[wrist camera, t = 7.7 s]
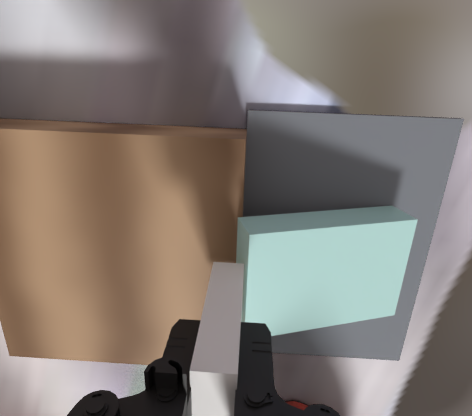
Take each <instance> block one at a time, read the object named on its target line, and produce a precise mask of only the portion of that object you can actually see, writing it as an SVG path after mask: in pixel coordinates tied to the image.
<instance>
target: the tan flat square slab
mask: <svg viewBox="0 0 472 416" xmlns="http://www.w3.org/2000/svg"><path fill="white" fill-rule="evenodd" d="M246 138H247V129H237V128H213V127H189V126H166V125H142V124H119V123H95V122H71V121H48V120H24V119H1V118H0V321H1V325H2V329H3V333H4V336H5V340H6V344H7V348H8V351H9V355H10V356H19V357H34V358H49V359H65V360H80V361H95V362H111V363H126V364H141V365H149V364H150V363H151V362H153V361H154V360H156V359H159V358H162V356H163V353H164V350H165V347H166V344H167V341H168V339H169V334H170V331H171V328H172V327H173V326H174V324H175V323H176V322H177V321H178V320H179V319H188V320H201V316H202V312H203V307H204V303H205V298H206V294H207V289H208V285H209V280H210V275H211V271H212V266H213V262H225V263H236V253H237V225H238V217H243V204H244V182H245V160H246Z"/></svg>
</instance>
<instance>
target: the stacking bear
mask: <svg viewBox="0 0 472 416" xmlns="http://www.w3.org/2000/svg"><path fill="white" fill-rule="evenodd" d="M286 403H287V404H289V405H291V406H294V407H296V408H299V409H302V410H304V409H305V408H306V407H308V406H307V405H305V404H302V403H299V402H296V401H288V402H286Z"/></svg>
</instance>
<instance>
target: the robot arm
mask: <svg viewBox="0 0 472 416" xmlns="http://www.w3.org/2000/svg"><path fill="white" fill-rule="evenodd" d="M243 277H244V264H243V263H225V262H213V266H212V271H211V275H210V280H209V285H208V289H207V294H206V298H205V303H204V307H203V312H202V316H201V320H188V319H179V320H178V321H177V322H176V323H175V324H174V326H173V327H172V328H171V331H170V334H169V339H168V341H167V344H166V347H165V350H164V353H163V356H162V358H159V359H156V360H154V361H153V362H151V363H150V364H149V365H148V366H147V368H146V369H145V371H144V376H145V387H146V390H145V391H143V392H141V393H139V394H136V395H133V396H129V397H125V398H120V399H118V398H117V396H116V395H115V394H114V393H112V392H110V391H105V390H100V391H95V392H92V393H90V394H88V395H86V396H84V397H83V398H82V399H81V400H80V401H79V402H78V403H77V404H76V405H75V406H74V408H73V409H72V410H71V411H70V412H69V414H68V415H67V416H340V415H339V413H337V412H336V411H335V410H333V409H332V408H331V407H328V406H325V405H323V404H313V405H311V406H308V407H306V408H305V409H304V410H302V409H299V408H296V407H294V406H291V405H289V404H287V403H286V402H285V401H283V400H282V399H281V398H280V397H279V395H278V394H277V392H276V390H275V387H274V377H273V360H272V345H271V343H272V342H271V332H270V330H269V329H268V327H267V325H266V324H265V323H250V322H241V318H242V299H243Z"/></svg>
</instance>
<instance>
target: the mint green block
mask: <svg viewBox="0 0 472 416" xmlns="http://www.w3.org/2000/svg"><path fill="white" fill-rule="evenodd" d="M417 221H418V219H416V218H414V217H412V216H410V215H409V214H407V213H405V212H403V211H401V210H399V209H398V208H396V207H394V206H379V207H366V208H353V209H340V210H327V211H314V212H301V213H288V214H275V215H262V216H249V217H238V225H237V253H236V263H243V264H244V277H243V299H242V318H241V322H250V323H265V324H266V325H267V327H268V329H269V330H270V332H271V336H275V335H281V334H287V333H293V332H299V331H304V330H310V329H316V328H322V327H328V326H334V325H340V324H346V323H352V322H357V321H363V320H369V319H375V318H381V317H387V316H393V315H395V311H396V307H397V303H398V299H399V295H400V291H401V286H402V282H403V278H404V274H405V270H406V266H407V262H408V258H409V254H410V249H411V245H412V241H413V237H414V233H415V229H416V225H417Z"/></svg>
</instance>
